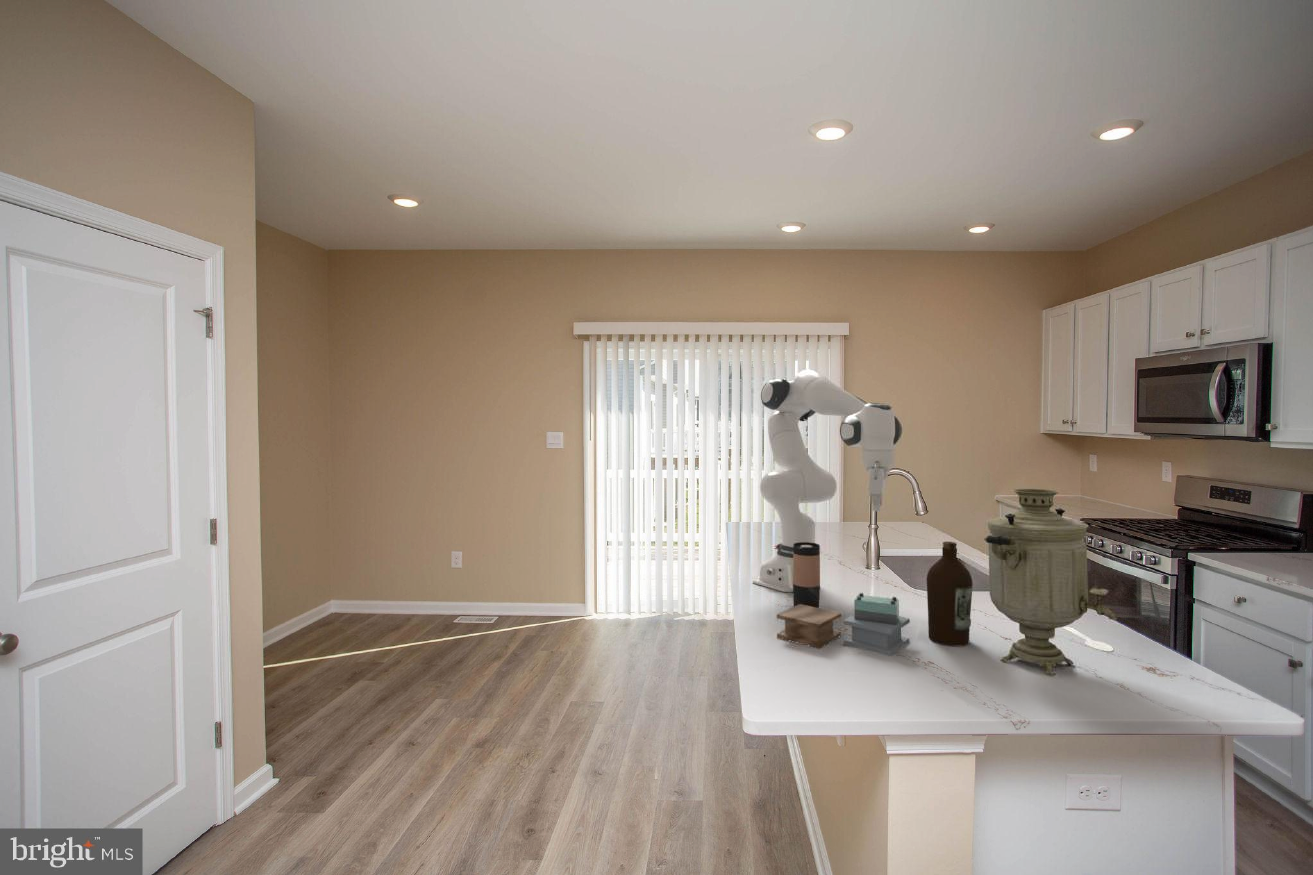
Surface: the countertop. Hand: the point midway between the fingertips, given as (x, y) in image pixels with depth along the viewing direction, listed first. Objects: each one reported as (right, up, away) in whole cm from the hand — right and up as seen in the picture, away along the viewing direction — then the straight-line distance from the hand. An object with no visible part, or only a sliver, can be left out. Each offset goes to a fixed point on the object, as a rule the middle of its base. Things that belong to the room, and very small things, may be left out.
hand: (877, 508), depth 180 cm
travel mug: (-20, -31, +3) cm, 37 cm away
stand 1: (-24, -31, -16) cm, 43 cm away
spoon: (+47, -32, -19) cm, 60 cm away
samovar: (+25, -32, -37) cm, 55 cm away
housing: (-8, -26, -21) cm, 34 cm away
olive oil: (+11, -32, -19) cm, 39 cm away
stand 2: (-8, -32, -21) cm, 39 cm away
